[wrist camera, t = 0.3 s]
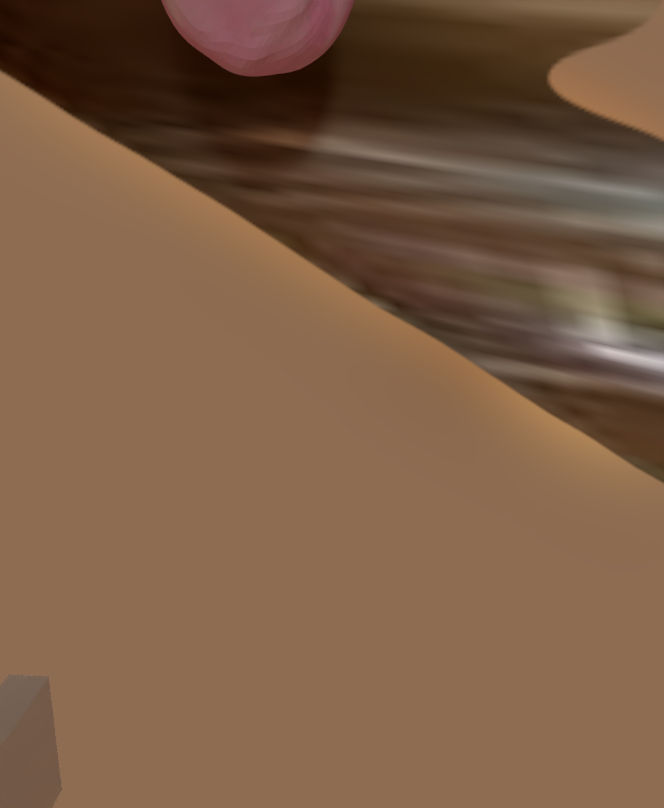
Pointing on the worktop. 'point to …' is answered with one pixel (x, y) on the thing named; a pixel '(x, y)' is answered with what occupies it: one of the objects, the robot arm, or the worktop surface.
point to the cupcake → (260, 31)
